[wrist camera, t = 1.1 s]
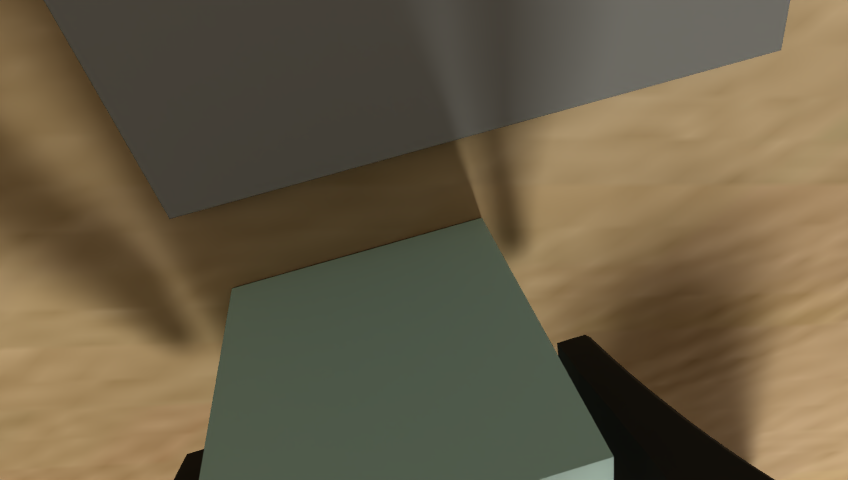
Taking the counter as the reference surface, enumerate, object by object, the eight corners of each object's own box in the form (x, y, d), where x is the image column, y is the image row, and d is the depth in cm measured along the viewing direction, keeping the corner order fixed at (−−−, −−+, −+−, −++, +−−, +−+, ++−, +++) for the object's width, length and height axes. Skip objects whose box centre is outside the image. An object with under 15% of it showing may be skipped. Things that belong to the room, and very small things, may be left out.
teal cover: (481, 218, 12) (613, 456, 7) (509, 382, 15) (613, 627, 10) (231, 288, 11) (179, 590, 7) (314, 441, 15) (322, 720, 10)
